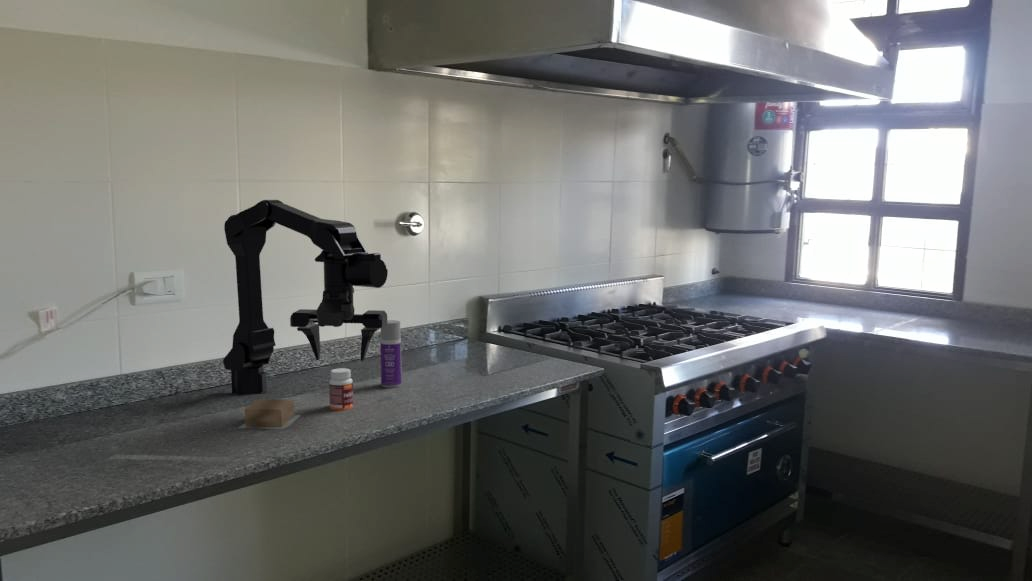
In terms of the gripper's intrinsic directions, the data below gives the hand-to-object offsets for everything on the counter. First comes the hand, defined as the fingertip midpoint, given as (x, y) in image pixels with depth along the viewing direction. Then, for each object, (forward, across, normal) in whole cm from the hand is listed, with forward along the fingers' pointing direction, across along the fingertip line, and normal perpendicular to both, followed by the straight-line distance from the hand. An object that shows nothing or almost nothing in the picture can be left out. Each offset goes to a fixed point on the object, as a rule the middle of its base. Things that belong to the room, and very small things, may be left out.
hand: (340, 360), depth 163 cm
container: (+11, +6, +21) cm, 24 cm away
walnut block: (+10, -11, -11) cm, 18 cm away
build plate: (+10, -8, -10) cm, 17 cm away
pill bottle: (+11, 0, 0) cm, 11 cm away
